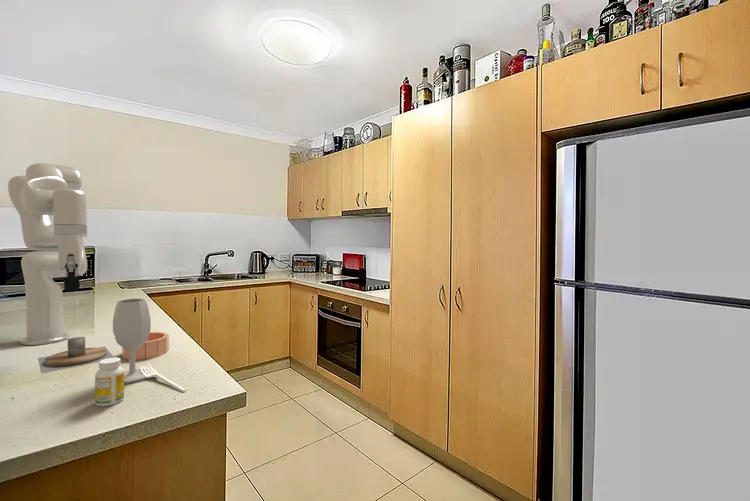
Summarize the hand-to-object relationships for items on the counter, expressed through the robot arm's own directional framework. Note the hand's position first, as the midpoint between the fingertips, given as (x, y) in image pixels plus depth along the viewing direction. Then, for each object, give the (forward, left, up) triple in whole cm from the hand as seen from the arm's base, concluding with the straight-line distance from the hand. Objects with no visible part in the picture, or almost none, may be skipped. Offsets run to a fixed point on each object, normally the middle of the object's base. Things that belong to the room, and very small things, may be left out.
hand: (72, 289), depth 105 cm
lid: (+1, +1, -21) cm, 21 cm away
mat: (+1, +1, -22) cm, 22 cm away
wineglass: (+25, +10, -22) cm, 35 cm away
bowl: (+9, +17, -22) cm, 29 cm away
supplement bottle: (+38, +3, -22) cm, 44 cm away
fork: (+34, +14, -22) cm, 43 cm away
